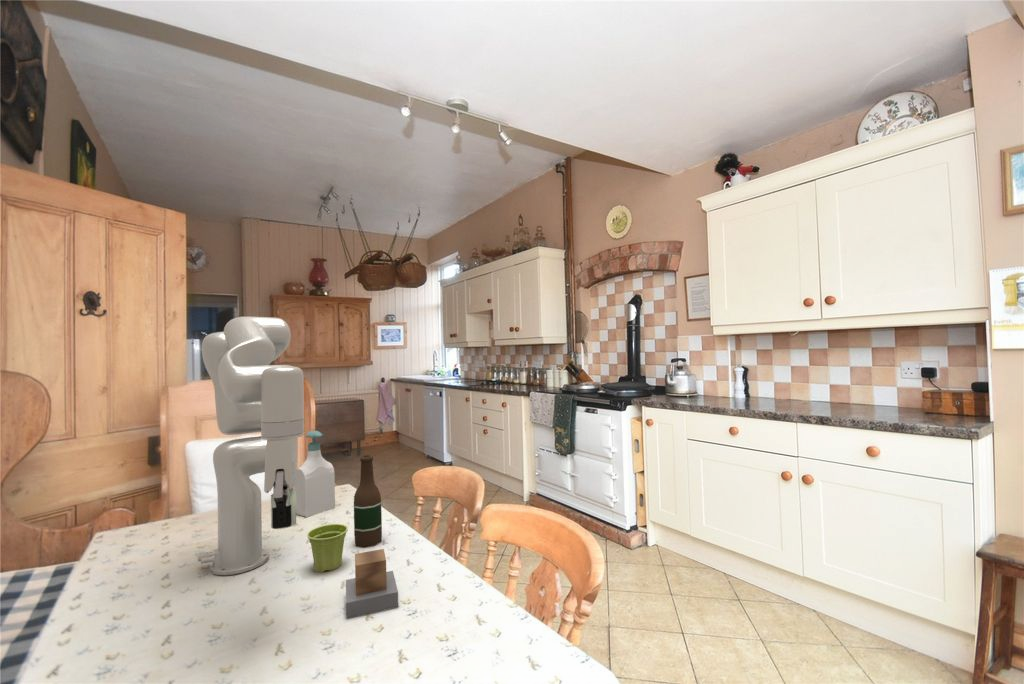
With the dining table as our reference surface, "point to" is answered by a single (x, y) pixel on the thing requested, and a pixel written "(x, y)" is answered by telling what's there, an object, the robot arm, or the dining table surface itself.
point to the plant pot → (327, 546)
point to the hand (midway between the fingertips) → (283, 521)
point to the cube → (370, 572)
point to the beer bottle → (367, 507)
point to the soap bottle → (314, 481)
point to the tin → (293, 508)
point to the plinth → (371, 598)
